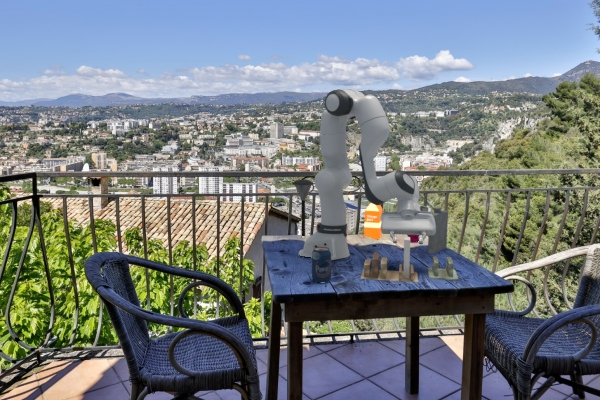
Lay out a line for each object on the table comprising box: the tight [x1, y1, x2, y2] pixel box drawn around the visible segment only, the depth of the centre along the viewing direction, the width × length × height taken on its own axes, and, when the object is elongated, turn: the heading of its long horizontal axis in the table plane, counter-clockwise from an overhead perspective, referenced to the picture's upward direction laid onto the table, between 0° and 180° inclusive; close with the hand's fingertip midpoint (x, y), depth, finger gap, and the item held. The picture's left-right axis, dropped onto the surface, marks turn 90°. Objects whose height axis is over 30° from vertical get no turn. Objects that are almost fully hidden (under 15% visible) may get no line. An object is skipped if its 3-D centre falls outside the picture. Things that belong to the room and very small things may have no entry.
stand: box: [426, 256, 459, 281], centre depth 168 cm, size 10×12×7 cm
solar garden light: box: [291, 179, 315, 237], centre depth 233 cm, size 12×12×30 cm
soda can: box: [311, 247, 332, 283], centre depth 165 cm, size 7×7×12 cm
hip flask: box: [427, 206, 449, 255], centre depth 208 cm, size 16×4×20 cm, turn 140°
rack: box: [360, 252, 419, 283], centre depth 167 cm, size 20×12×8 cm, turn 78°
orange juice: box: [363, 202, 383, 240], centre depth 236 cm, size 8×9×20 cm
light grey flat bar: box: [402, 236, 411, 278], centre depth 165 cm, size 2×5×14 cm, turn 168°
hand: (407, 243), depth 168 cm, fingers open, 8 cm apart
